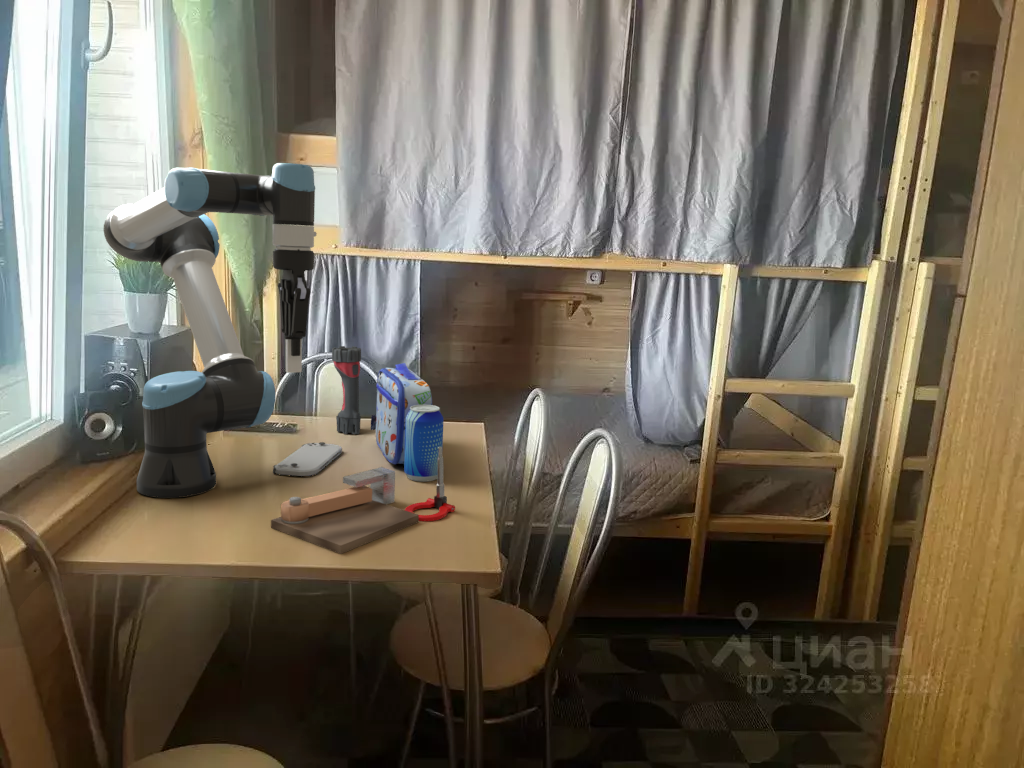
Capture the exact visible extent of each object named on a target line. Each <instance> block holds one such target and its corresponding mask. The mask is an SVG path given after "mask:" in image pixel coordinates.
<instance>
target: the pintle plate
mask: <svg viewBox="0 0 1024 768" xmlns="http://www.w3.org/2000/svg"><path fill="white" fill-rule="evenodd" d="M419 515H420V514H417V513H415V512H413V513H412V512H408V511H405V509H401V508H398V507H395V506H392V505H389V504H383V503H380V502H377V501H374V500H372V501H371V502H367V503H363V504H359V505H355V506H351V507H346V508H342V509H338V510H334V511H330V512H326V513H322V514H318V515H314V516H310V517H308V518H307V519H305V520H302V521H296V522H291V521H290V522H289V521H285V520H283V519H282V517H281V516H278V517H276V518H273V519H270V527H271V528H272V529H274V530H277V531H278V532H279V531H280V532H282V533H284V534H287V535H290V536H292V537H295V538H296V539H300V540H302V541H306V542H309V543H311V544H313V545H316V546H319V547H321V548H323V549H326V550H330V551H331V552H332V551H333V553H334V552H335V553H338V554H340V555H341V554H344V553H347V552H349V551H351V550H354V549H357V548H359V547H361V546H363V545H367V544H368V543H371V542H374V541H376V540H378V539H381V538H383V537H386V536H388V535H390V534H393V533H395V532H397V531H400V530H403V529H405V528H408V527H410V526H412V525H415V524H417V523H419V522H420V521H419ZM373 540H374V541H373Z"/></svg>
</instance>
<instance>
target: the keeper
mask: <svg viewBox="0 0 1024 768" xmlns="http://www.w3.org/2000/svg"><path fill="white" fill-rule="evenodd" d="M342 484H345V485H348V486H351V487H352V488H353V487H356V488H357V487H360V486H367V485H369V488H371V489H372V500H374V501H377V502H380V503H383V504H386V505H389V504H392V503H395V497H396V496H395V494H396V493H395V489H396V488H395V487H396V486H395V485H396V471H395V470H392V469H390V468H386V467H383V466H381V467H380V466H379V467H377V468H372V469H368V470H364V471H361V472H357V473H352V474H350V475H345V476H343V477H342Z"/></svg>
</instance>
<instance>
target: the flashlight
mask: <svg viewBox="0 0 1024 768" xmlns="http://www.w3.org/2000/svg"><path fill="white" fill-rule="evenodd" d="M331 361H333V364H334V368H335V369H336V371H337V374H339V376H340V378H341V387H342V397H343V398H342V399H343V403H342V407H341V410H340V412H338V413H337V415H336V417H335V418H336V431H338V432H337V433H341V432H342V434H343V433H344V434H343V435H348V434H351V435H355V434H357V435H359V434H361V433H360V431H361V417H362V416H361V413H360V411H359V410H360V409H359V406H360V382H359V381H360V379H359V378H360V373H361V361H362V349H361V348H360V347H357V346H355V345H354V346H351V347H346V346H345V345H344V346H342V345H341V346H339V347H336V346H334V347H332V349H331Z"/></svg>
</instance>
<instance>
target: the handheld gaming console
mask: <svg viewBox="0 0 1024 768" xmlns="http://www.w3.org/2000/svg"><path fill="white" fill-rule="evenodd" d="M342 453H343V448H342V446H341V445H339V444H333V443H326V442H323V441H322V442H308V443H304V444H302V445H301V446H300V447H299V448H298V449H295V451H293V452H292V453H291V454H290V455H288V456H287V457H285V458H284V459H282V461H280V462H278V463H277V464H274V465H273V466H272V469H273V470H272V473H274V474H273V475H278V474H280V475H279V476H281V475H290V476H289V477H294V476H301V477H300V478H303V477H302V476H310V477H313V476H312V475H314V476H316V475H318V474H319V473H320V472H321V471H322V470H323V469H325V468H326V467H327V466H328V465H329V464H331V463H332V462H333V461H334V460H335V459H336V458H338V457H339V456H340V455H341V454H342ZM332 460H333V461H332ZM325 466H326V467H325ZM319 471H320V472H319ZM318 472H319V473H318ZM275 473H277V474H275ZM315 474H316V475H315Z"/></svg>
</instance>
